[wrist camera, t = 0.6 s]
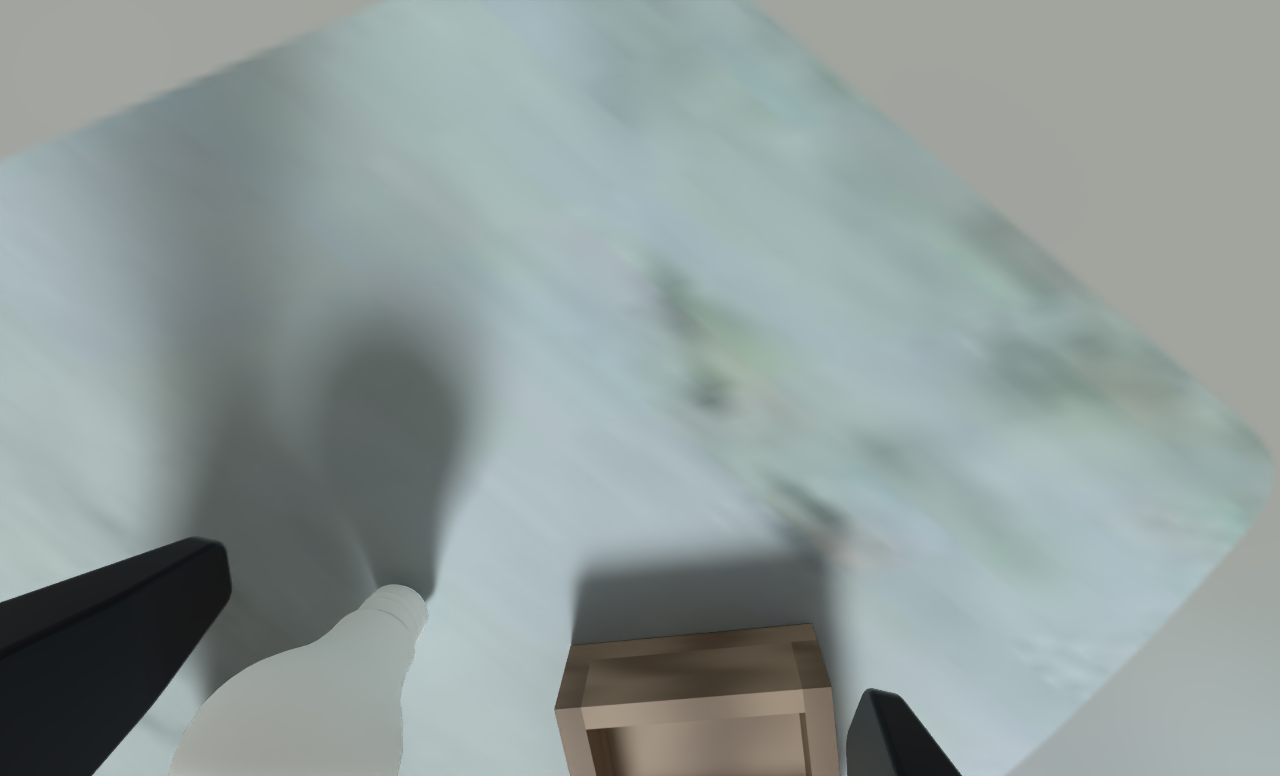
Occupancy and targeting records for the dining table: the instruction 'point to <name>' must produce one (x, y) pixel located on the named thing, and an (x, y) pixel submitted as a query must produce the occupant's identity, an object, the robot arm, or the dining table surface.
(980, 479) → the dining table surface
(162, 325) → the dining table surface
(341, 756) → the lightbulb
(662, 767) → the brown square tray
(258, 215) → the dining table surface
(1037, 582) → the dining table surface
